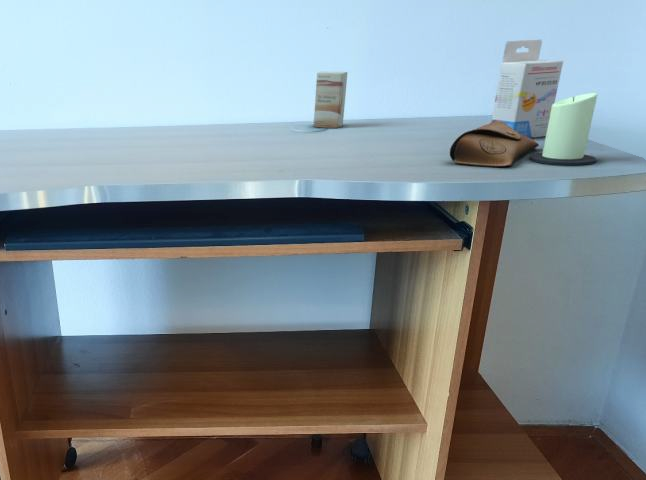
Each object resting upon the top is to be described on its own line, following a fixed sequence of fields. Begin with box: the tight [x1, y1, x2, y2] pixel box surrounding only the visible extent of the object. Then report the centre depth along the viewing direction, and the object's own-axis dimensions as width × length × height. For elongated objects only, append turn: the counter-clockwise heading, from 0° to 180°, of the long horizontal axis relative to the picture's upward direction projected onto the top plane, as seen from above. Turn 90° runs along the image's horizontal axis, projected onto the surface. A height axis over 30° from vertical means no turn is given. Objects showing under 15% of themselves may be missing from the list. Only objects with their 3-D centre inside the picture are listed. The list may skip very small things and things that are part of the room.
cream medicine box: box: [313, 70, 348, 129], centre depth 125 cm, size 5×4×10 cm
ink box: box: [491, 39, 564, 139], centre depth 104 cm, size 8×5×15 cm, turn 114°
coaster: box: [529, 152, 597, 167], centre depth 88 cm, size 8×8×1 cm
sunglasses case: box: [449, 120, 540, 168], centre depth 92 cm, size 18×7×7 cm
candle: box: [542, 92, 599, 160], centre depth 86 cm, size 5×5×8 cm
